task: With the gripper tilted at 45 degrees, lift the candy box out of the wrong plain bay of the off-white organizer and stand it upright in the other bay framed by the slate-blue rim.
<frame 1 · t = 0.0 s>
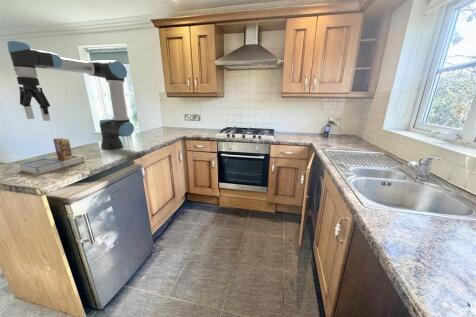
hand: (38, 119, 104), 28 cm above the worktop, tool pointing down, fingers open, 13 cm apart
organizer: (55, 165, 117), on the worktop
candy box: (66, 163, 122), resting in organizer
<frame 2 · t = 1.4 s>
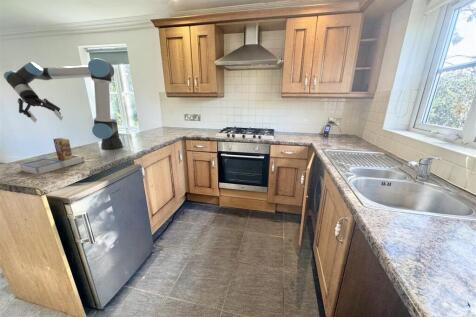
hand: (49, 119, 121), 26 cm above the worktop, tool tilted 45°, fingers open, 13 cm apart
nothing on the worktop moved.
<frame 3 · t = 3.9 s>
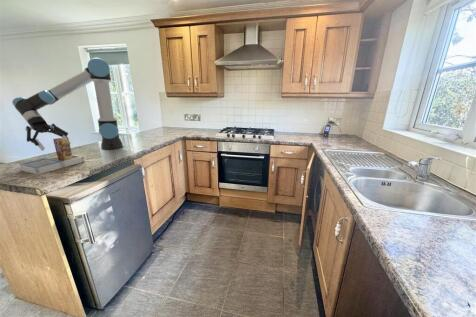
hand: (57, 146, 119), 10 cm above the worktop, tool tilted 45°, fingers open, 13 cm apart
nothing on the worktop moved.
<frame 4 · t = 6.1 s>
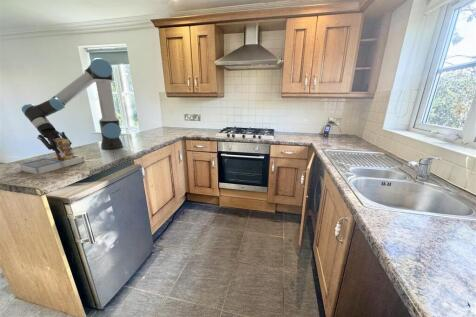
hand: (68, 155, 119), 5 cm above the worktop, tool tilted 45°, fingers closed on candy box, 4 cm apart
candy box: (66, 163, 122), resting in organizer, touching gripper
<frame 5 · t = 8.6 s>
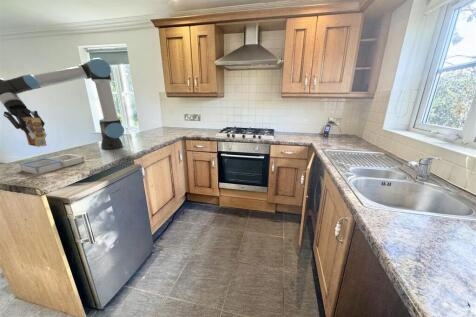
hand: (39, 136, 105), 19 cm above the worktop, tool tilted 45°, fingers closed on candy box, 4 cm apart
candy box: (38, 145, 108), point 14 cm above the worktop, touching gripper
when the fingers open (7 cm above the worktop, at t = 11.1 s): candy box drops 1 cm, resting in organizer.
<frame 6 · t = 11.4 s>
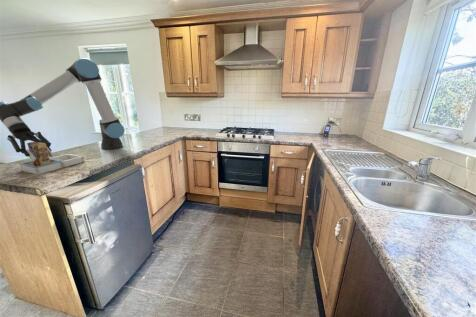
hand: (43, 158, 108), 7 cm above the worktop, tool tilted 45°, fingers open, 7 cm apart
candy box: (43, 169, 111), resting in organizer
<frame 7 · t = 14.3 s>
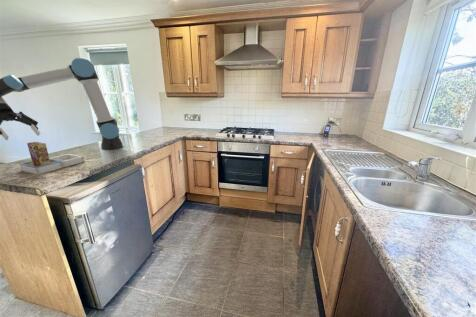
hand: (24, 136, 110), 18 cm above the worktop, tool tilted 45°, fingers open, 13 cm apart
nothing on the worktop moved.
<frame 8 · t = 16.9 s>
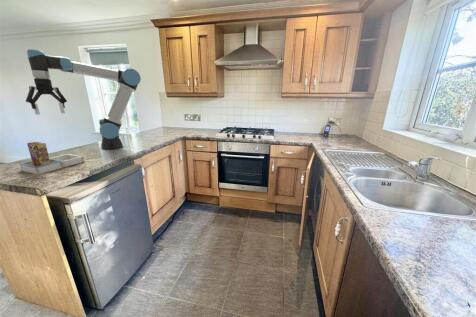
hand: (51, 113, 125), 29 cm above the worktop, tool pointing down, fingers open, 13 cm apart
nothing on the worktop moved.
at the end: candy box 0.2 cm from the target spot on the organizer, point 0.0 cm above the organizer's base; candy box tilted 0°; the gripper is holding nothing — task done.
